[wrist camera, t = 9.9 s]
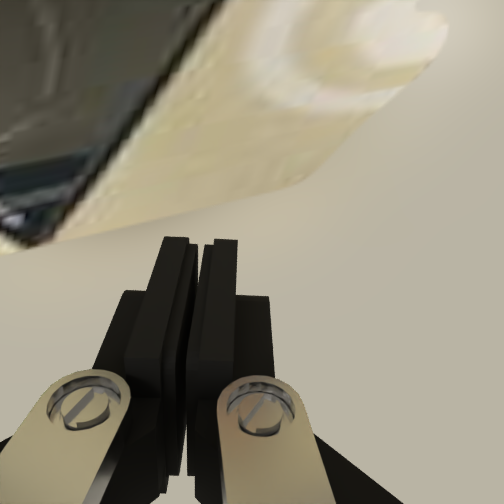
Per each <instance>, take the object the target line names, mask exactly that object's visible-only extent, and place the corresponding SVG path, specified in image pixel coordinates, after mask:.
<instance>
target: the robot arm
mask: <svg viewBox="0 0 504 504" xmlns="http://www.w3.org/2000/svg"><path fill="white" fill-rule="evenodd" d="M237 245H238V240H229V239H214V245H206V244H205V246H204V253H203V258H202V265H201V270H200V276H199V282H198V245H197V244H189V238H188V237H168V236H166V237H164V239H163V242H162V245H161V248H160V251H159V254H158V257H157V260H156V263H155V266H154V269H153V272H152V275H151V278H150V280H149V283H148V286H147V289H146V291H136V290H135V291H134V290H126V291H124V293H123V294H122V297H121V299H120V302H119V304H118V306H117V309H116V311H115V314H114V316H113V319H112V321H111V324H110V326H109V329H108V331H107V333H106V336H105V338H104V341H103V343H102V345H101V348H100V350H99V353H98V355H97V358H96V360H95V363H94V365H93V367H92V369H89V370H84V371H78V372H75V373H72V374H70V375H67V376H65V377H62V378H61V379H59V380H58V381H56V382H55V383H54V384H52V385H51V386H50V387H49V388H48V389H47V390H46V391H45V392H44V393H43V394H42V395H41V397H40V398H39V400H38V401H37V402H36V404H35V405H34V407H33V408H32V410H31V411H30V412H29V414H28V415H27V417H26V418H25V419H24V421H23V422H22V424H21V425H20V426H19V428H18V429H17V431H16V432H15V434H14V435H13V436H11V437H9V438H7V439H5V440H3V441H2V442H0V504H150V503H151V502H153V501H154V500H155V499H156V498H158V497H159V495H160V493H165V494H166V491H167V485H168V479H169V475H173V476H179V473H180V466H181V460H182V453H183V445H184V438H185V431H186V424H187V475H188V476H195V498H196V499H197V500H198V501H199V502H200V503H201V504H403V503H402V502H401V501H399V500H398V499H397V498H396V497H394V496H393V495H392V494H391V493H389V492H388V491H387V490H385V489H384V488H383V487H381V486H380V485H379V484H378V483H376V482H375V481H374V480H372V479H371V478H370V477H369V476H367V475H366V474H365V473H364V472H362V471H361V470H360V469H358V468H357V467H356V466H355V465H353V464H352V463H351V462H350V461H348V460H347V459H346V458H344V457H343V456H342V455H341V454H339V453H338V452H337V451H335V450H334V449H333V448H332V447H330V446H329V445H328V444H326V443H325V442H324V441H323V440H321V439H320V438H319V437H317V436H316V435H315V434H313V431H312V428H311V425H310V422H309V419H308V416H307V413H306V410H305V407H304V404H303V402H302V400H301V398H300V396H299V394H298V393H297V392H296V391H295V390H294V389H293V388H292V387H291V386H290V385H288V384H286V383H284V382H282V381H280V380H279V379H276V378H275V372H274V357H273V343H272V330H271V318H270V317H271V316H270V302H269V297H268V296H247V295H236V272H237Z"/></svg>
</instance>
